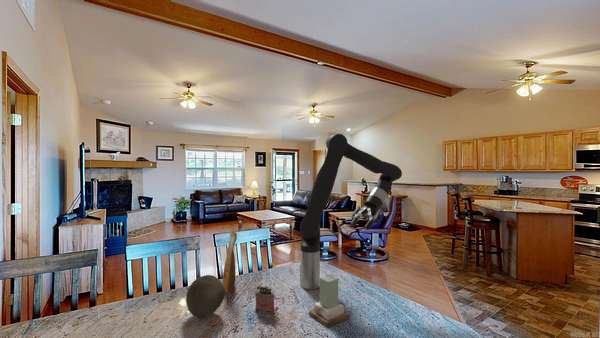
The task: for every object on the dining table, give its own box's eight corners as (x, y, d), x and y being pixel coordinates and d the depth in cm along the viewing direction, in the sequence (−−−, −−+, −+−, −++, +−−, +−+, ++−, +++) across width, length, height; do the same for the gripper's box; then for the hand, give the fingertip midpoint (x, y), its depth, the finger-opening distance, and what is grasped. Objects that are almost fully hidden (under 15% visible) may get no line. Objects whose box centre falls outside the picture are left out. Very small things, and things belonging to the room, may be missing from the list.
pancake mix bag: (237, 279, 148) (236, 224, 148) (237, 294, 130) (236, 232, 130) (223, 280, 147) (223, 225, 147) (221, 296, 128) (221, 233, 128)
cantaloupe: (188, 329, 102) (188, 286, 102) (184, 311, 114) (184, 274, 114) (228, 319, 108) (228, 279, 108) (220, 303, 121) (220, 268, 121)
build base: (308, 314, 111) (308, 303, 111) (330, 306, 118) (330, 295, 118) (327, 327, 102) (327, 314, 102) (349, 317, 109) (349, 306, 109)
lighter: (275, 311, 114) (275, 286, 114) (272, 315, 111) (272, 289, 111) (257, 308, 117) (257, 283, 117) (253, 311, 114) (253, 286, 114)
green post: (319, 303, 111) (319, 277, 111) (329, 300, 114) (329, 275, 114) (328, 308, 107) (328, 282, 107) (338, 305, 110) (338, 279, 110)
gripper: (360, 193, 138) (343, 219, 132) (384, 195, 127) (367, 224, 120) (368, 203, 141) (351, 229, 135) (392, 206, 130) (376, 235, 123)
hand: (359, 227), depth 127 cm, fingers open, 8 cm apart
